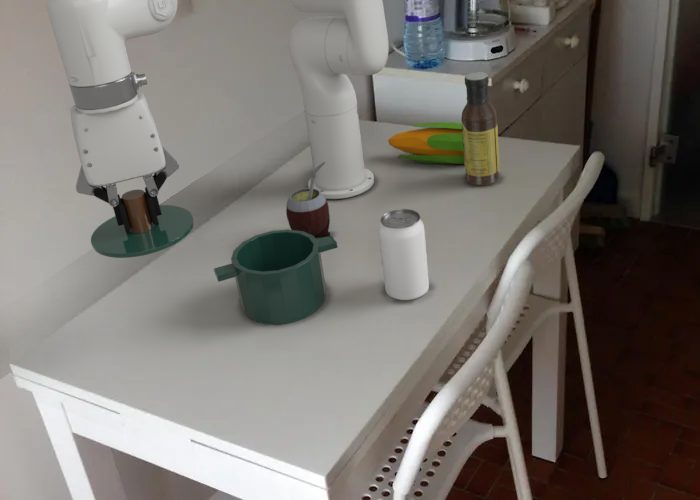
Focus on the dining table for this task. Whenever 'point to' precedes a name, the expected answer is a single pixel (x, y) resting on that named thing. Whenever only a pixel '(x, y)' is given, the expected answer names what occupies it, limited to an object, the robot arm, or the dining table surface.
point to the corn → (432, 143)
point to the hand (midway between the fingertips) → (140, 223)
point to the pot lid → (141, 229)
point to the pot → (279, 275)
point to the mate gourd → (309, 210)
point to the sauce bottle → (480, 132)
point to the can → (403, 254)
